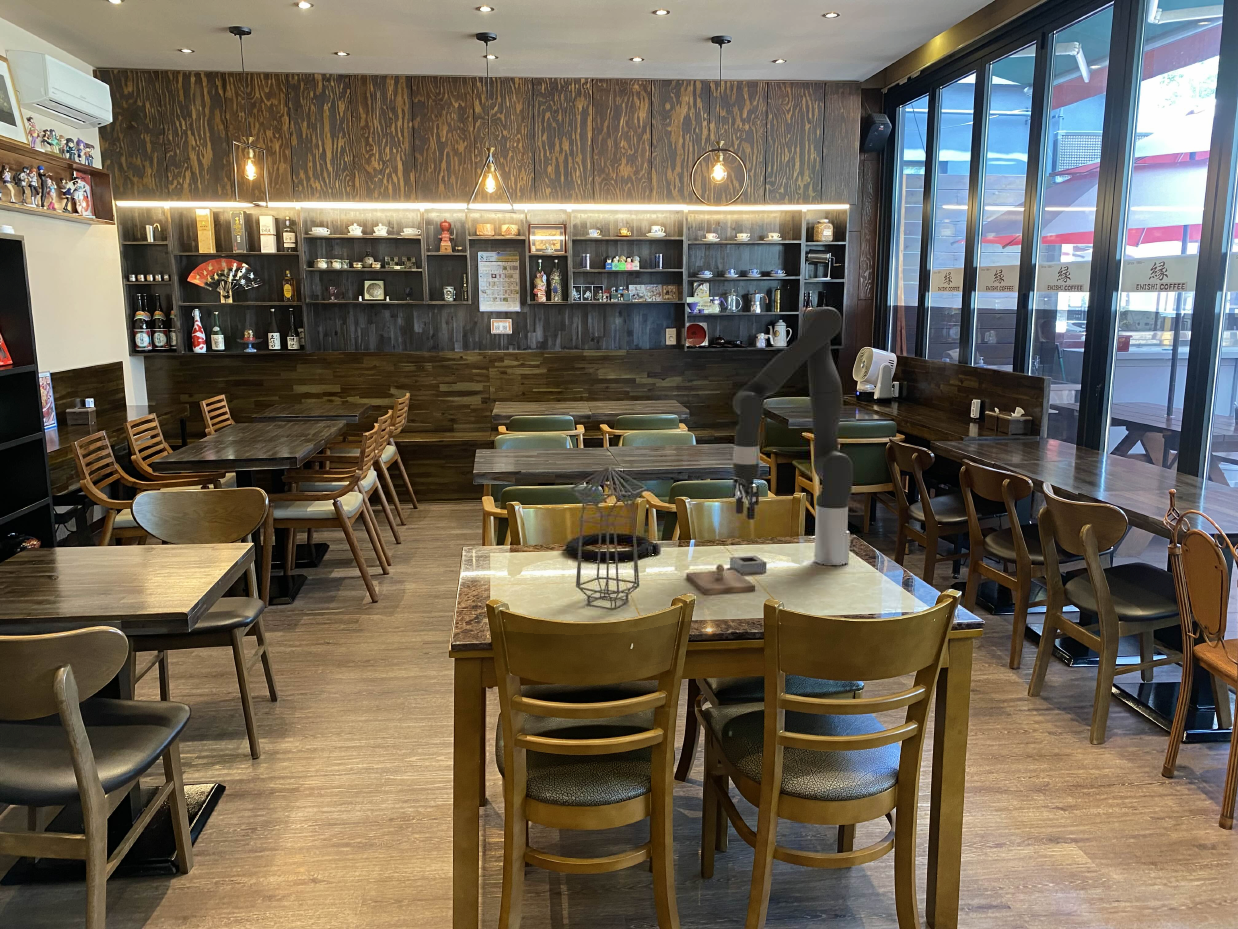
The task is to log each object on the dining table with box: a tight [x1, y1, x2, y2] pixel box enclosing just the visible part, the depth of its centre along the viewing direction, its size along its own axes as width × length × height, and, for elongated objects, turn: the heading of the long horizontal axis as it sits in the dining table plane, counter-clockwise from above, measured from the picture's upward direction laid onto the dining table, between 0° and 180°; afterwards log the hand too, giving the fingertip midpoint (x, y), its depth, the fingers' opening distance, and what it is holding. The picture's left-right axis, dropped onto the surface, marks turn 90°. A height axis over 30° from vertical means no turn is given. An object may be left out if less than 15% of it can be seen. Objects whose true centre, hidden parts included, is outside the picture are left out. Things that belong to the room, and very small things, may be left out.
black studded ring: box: [565, 532, 662, 562], centre depth 278 cm, size 28×4×30 cm
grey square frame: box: [729, 555, 768, 575], centre depth 257 cm, size 8×8×3 cm
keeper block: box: [685, 564, 756, 595], centre depth 242 cm, size 14×16×6 cm
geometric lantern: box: [568, 466, 649, 610], centre depth 224 cm, size 16×16×35 cm
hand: (744, 516), depth 258 cm, fingers open, 8 cm apart
